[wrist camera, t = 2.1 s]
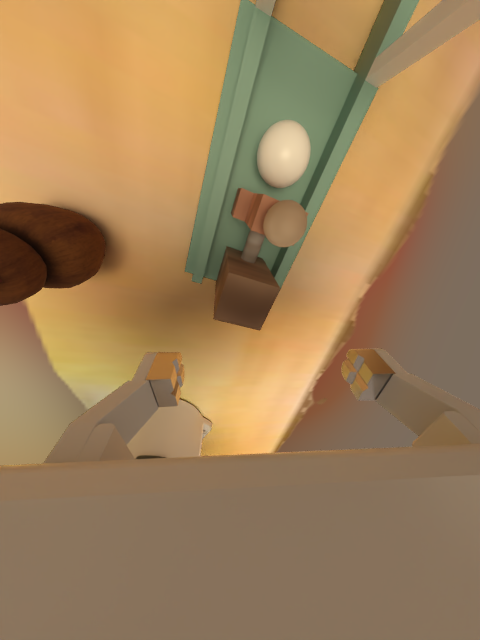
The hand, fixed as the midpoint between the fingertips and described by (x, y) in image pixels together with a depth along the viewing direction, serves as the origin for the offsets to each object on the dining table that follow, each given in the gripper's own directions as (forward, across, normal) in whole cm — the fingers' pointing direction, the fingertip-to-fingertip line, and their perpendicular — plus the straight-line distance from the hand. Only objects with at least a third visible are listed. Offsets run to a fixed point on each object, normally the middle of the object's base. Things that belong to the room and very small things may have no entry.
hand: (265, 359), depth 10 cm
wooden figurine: (+15, +17, -3) cm, 23 cm away
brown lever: (+14, 0, -2) cm, 14 cm away
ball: (+12, -2, -9) cm, 16 cm away
